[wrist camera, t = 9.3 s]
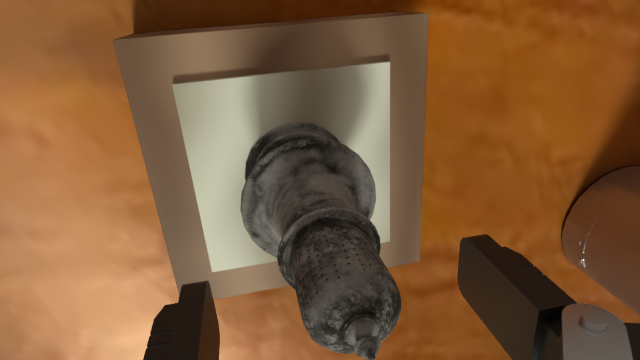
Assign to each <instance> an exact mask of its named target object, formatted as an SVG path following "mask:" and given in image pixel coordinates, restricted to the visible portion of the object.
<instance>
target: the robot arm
mask: <svg viewBox="0 0 640 360" xmlns="http://www.w3.org/2000/svg"><path fill="white" fill-rule="evenodd" d="M562 245H563V251H564V253H565V255H566V257H567V259H568V260H569V261H570V262H571V263H572V264H573V265H574V266H576V267H577V268H578V269H579V270H581V271H582V272H583V273H585V274H586V275H587V276H589V277H590V278H591V279H593V280H594V281H595V282H597V283H598V284H599V285H601V286H602V287H603V288H604V289H606V290H607V291H608V292H610V293H611V294H612V295H613V296H615V297H616V298H617V299H619V300H620V301H621V302H623V303H624V304H625V305H627V306H628V307H629V308H630V309H632V310H633V311H634V312H636V313H637V314H638V315H640V166H632V167H625V168H621V169H619V170H616V171H613V172H611V173H609V174H607V175H605V176H604V177H602V178H600V179H599V180H598V181H596V182H595V183H594V184H592V185H591V186H590V187H589V188H588V189H587V190H586V191H585V192H584V193H583V194H582V195H581V196H580V197H579V199H578V200H577V201H576V203H575V204H574V206H573V207H572V209H571V211H570V213H569V215H568V217H567V219H566V221H565V225H564V228H563V234H562ZM458 285H459V288H460V291H461V293H462V295H463V297H464V298H465V299H466V301H467V302H468V303H469V305H470V306H471V307H472V308H473V310H474V311H475V312H476V314H477V315H478V316H479V317H480V319H481V320H482V321H483V323H484V324H485V325H486V326H487V328H488V329H489V330H490V332H491V333H492V334H493V335H494V337H495V338H496V339H497V341H498V342H499V343H500V344H501V346H502V347H503V348H504V350H505V351H506V352H507V353H508V355H509V356H510V357H511V359H512V360H640V324H638V323H623V322H622V321H621V320H620V319H619V318H618V317H617V316H616V315H614V314H613V313H611V312H609V311H607V310H605V309H603V308H601V307H598V306H595V305H591V304H583V303H576V302H575V301H574V300H573V299H572V298H571V297H569V296H568V295H567V294H566V293H565V292H564V291H563V290H561V289H560V288H559V287H558V286H557V285H556V284H555V283H553V282H552V281H551V280H550V279H549V278H548V277H547V276H545V275H543V274H542V272H541V271H540V270H539V269H537V268H536V267H533V264H532V263H531V262H529V261H528V260H527V259H526V258H525V257H524V256H523V255H521V254H519V253H517V252H515V251H513V250H511V249H509V248H507V247H501V246H500V245H499V244H497V243H496V242H495V241H494V240H493V239H492V238H491V237H490V236H489V235H486V234H484V235H478V236H472V237H466V238H463V239H462V240H461V242H460V252H459V266H458ZM150 334H151V336H150V337H149V340H148V344H147V349H146V352H145V355H144V359H143V360H219V346H220V334H219V324H218V319H217V314H216V310H215V305H214V301H213V296H212V292H211V287H210V283H209V281H208V280H207V281H201V282H195V283H189V284H183V285H182V287H181V291H180V296H179V301H178V303H175V304H169V305H165V306H164V307H163V309H162V310H161V311H160V312H159V314H158V315H157V316H156V317H155V319H154V322H153V325H152V329H151V333H150Z"/></svg>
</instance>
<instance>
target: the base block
mask: <svg viewBox="0 0 640 360" xmlns="http://www.w3.org/2000/svg"><path fill="white" fill-rule="evenodd" d="M428 14H429V13H415V12H387V13H375V14H363V15H351V16H339V17H327V18H315V19H303V20H291V21H279V22H267V23H255V24H243V25H231V26H219V27H207V28H195V29H183V30H171V31H159V32H147V33H135V34H131V35H127V36H124V37H121V38H118V39H114V40H113V42H114V46H115V50H116V54H117V58H118V62H119V65H120V69H121V73H122V77H123V81H124V85H125V89H126V92H127V96H128V100H129V104H130V108H131V112H132V115H133V119H134V123H135V127H136V131H137V135H138V138H139V142H140V146H141V150H142V154H143V158H144V161H145V165H146V169H147V173H148V177H149V181H150V184H151V188H152V192H153V196H154V200H155V204H156V207H157V211H158V215H159V219H160V223H161V227H162V231H163V234H164V238H165V242H166V246H167V250H168V254H169V257H170V261H171V265H172V269H173V273H174V277H175V280H176V284H177V288H178V292H179V296H180V291H181V287H182V285H183V284H189V283H195V282H201V281H207V280H208V281H209V283H210V287H211V292H212V296H213V299H218V298H224V297H229V296H234V295H240V294H245V293H251V292H256V291H262V290H267V289H273V288H278V287H284V286H289V284H288V283H287V282H286V281H285V280H284V278H283V276H282V274H281V273H280V271H279V266H278V261H277V258H276V257H274V256H272V255H270V254H269V253H267V252H265V251H263V250H262V249H261V248H260V247H259V246H258V245H257V244H256V243H255V242H254V241H253V240H252V239H251V237H250V236H249V234H248V232H247V230H246V229H245V227H244V224H243V219H242V215H241V211H240V207H241V194H242V190H243V187H244V185H245V182H246V181H245V168H246V162H247V159H248V157H249V154H250V151H251V150H252V149H253V147H254V146H255V144H256V143H257V142H258V140H259V139H260V138H262V137H263V136H264V135H265V134H267V133H268V132H269V131H271V130H273V129H275V128H277V127H279V126H282V125H285V124H291V123H297V122H299V123H310V124H314V125H317V126H319V127H322V128H324V129H326V130H327V131H329V132H330V133H331V134H333V135H334V136H335V137H336V138H337V139H338V141H339V142H340V143H341V144H343V145H346V146H347V147H348V148H350V149H351V150H353V151H354V152H355V153H357V154H358V155H359V156H360V157H361V158H362V160H363V161H364V162H365V163H366V165H367V166H368V167H369V169H370V171H371V174H372V177H373V179H374V182H375V190H376V202H375V207H374V212H373V215H372V217H371V219H370V221H371V222H372V223H373V224H374V226H375V227H376V229H377V232H378V234H379V236H380V244H381V250H380V255H379V256H380V257H381V259H382V261H383V262H384V264H385V266H386V267H393V266H398V265H404V264H409V263H415V262H420V236H421V208H422V180H423V153H424V125H425V97H426V69H427V42H428Z"/></svg>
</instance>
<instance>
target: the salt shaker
mask: <svg viewBox="0 0 640 360" xmlns="http://www.w3.org/2000/svg"><path fill="white" fill-rule="evenodd" d="M245 181H246V182H245V185H244V187H243V190H242V194H241V207H240V211H241V215H242V219H243V224H244V227H245V229H246V230H247V232H248V234H249V236H250V237H251V239H252V240H253V241H254V242H255V243H256V244H257V245H258V246H259V247H260V248H261V249H262V250H263V251H265V252H267V253H269V254H270V255H272V256H274V257H276V258H277V261H278V266H279V271H280V273H281V274H282V276H283V278H284V280H285V281H286V282H287V283H288V284H289V285H290V286H291V287H293V288H294V289H295V290H296V294H297V299H298V303H299V307H300V312H301V316H302V320H303V324H304V326H305V328H306V330H307V331H308V333H309V335H310V336H311V338H312V339H313V340H314V341H315V342H316V343H317V344H319V345H320V346H322V347H324V348H327V349H329V350H331V351H334V352H338V353H344V354H348V353H355V354H357V355H358V356H359V357H363V358H364V359H369V360H374V359H375V356H376V355H377V353H378V350H379V348H380V347H381V346H380V343H381V342H382V341H383V340H385V339H386V338H387V337H388V335H389V334H390V333H391V332H392V331H393V329H394V327H395V325H396V324H397V321H398V319H399V315H400V311H401V297H400V293H399V290H398V288H397V285H396V283H395V281H394V279H393V278H392V276H391V274H390V273H389V271H388V269H387V267H386V266H385V264H384V262H383V261H382V259H381V257H380V256H379V255H380V250H381V244H380V236H379V234H378V232H377V229H376V227H375V226H374V224H373V223H372V222H371V221H370V219H371V217H372V215H373V212H374V207H375V202H376V190H375V182H374V179H373V177H372V174H371V171H370V169H369V167H368V166H367V165H366V163H365V162H364V161H363V160H362V158H361V157H360V156H359V155H358V154H357V153H355V152H354V151H353V150H351V149H350V148H348V147H347V146H346V145H343V144H341V143H340V142H339V141H338V139H337V138H336V137H335V136H334V135H333V134H331V133H330V132H329V131H327V130H326V129H324V128H322V127H319V126H317V125H314V124H310V123H299V122H297V123H291V124H285V125H282V126H279V127H277V128H275V129H273V130H271V131H269V132H268V133H267V134H265V135H264V136H263V137H262V138H260V139H259V140H258V142H257V143H256V144H255V146H254V147H253V149H252V150H251V151H250V154H249V157H248V159H247V162H246V168H245Z"/></svg>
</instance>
